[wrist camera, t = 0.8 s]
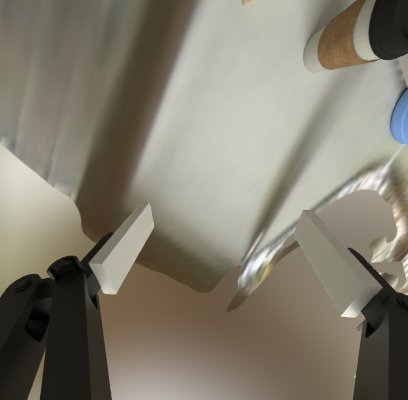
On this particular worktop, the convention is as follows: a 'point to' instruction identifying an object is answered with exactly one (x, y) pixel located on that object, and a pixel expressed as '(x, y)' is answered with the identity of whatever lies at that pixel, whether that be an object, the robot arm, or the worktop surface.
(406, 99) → the water jug
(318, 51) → the coffee cup
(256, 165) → the worktop surface
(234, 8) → the worktop surface
